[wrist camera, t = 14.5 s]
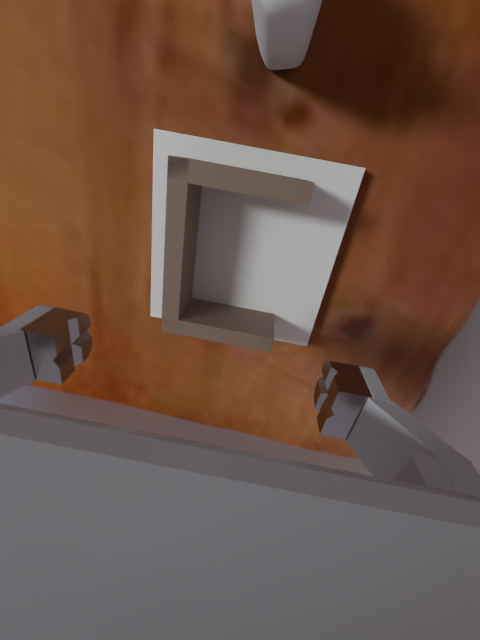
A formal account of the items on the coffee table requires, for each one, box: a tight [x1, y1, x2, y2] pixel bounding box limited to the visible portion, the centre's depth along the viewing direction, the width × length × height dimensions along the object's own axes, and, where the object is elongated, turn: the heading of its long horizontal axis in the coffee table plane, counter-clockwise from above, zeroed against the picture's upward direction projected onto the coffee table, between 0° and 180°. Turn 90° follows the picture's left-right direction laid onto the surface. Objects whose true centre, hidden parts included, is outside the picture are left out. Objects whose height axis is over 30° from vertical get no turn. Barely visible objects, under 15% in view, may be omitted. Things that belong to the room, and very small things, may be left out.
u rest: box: [150, 129, 366, 352], centre depth 21 cm, size 14×14×5 cm
